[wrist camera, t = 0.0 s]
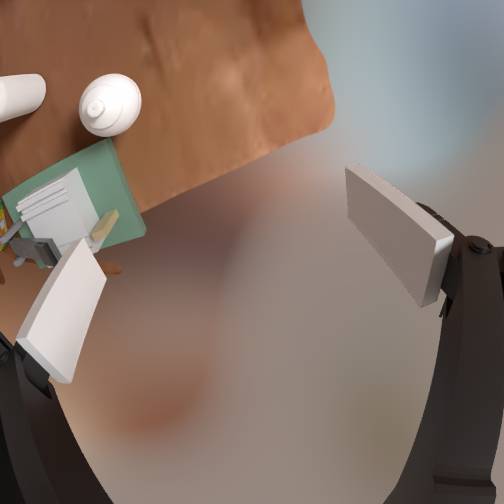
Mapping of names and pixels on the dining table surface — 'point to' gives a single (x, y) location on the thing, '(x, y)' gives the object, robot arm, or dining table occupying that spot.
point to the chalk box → (2, 225)
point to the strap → (36, 249)
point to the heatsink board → (97, 188)
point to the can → (20, 95)
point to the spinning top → (110, 105)
